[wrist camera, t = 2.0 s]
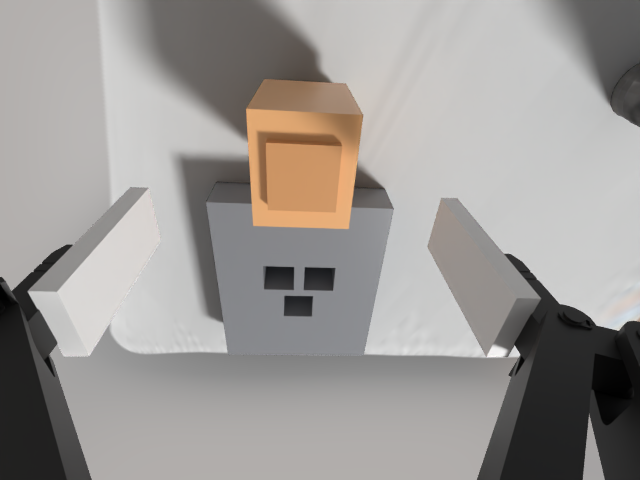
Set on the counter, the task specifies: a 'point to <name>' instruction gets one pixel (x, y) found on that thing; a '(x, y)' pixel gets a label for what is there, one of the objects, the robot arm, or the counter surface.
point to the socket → (297, 276)
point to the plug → (303, 153)
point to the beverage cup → (628, 96)
